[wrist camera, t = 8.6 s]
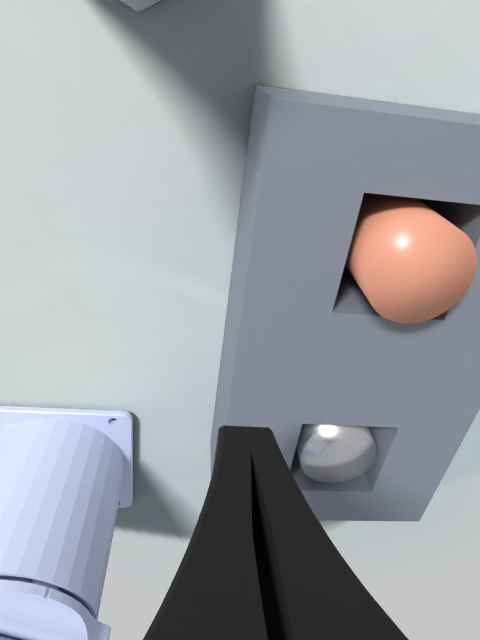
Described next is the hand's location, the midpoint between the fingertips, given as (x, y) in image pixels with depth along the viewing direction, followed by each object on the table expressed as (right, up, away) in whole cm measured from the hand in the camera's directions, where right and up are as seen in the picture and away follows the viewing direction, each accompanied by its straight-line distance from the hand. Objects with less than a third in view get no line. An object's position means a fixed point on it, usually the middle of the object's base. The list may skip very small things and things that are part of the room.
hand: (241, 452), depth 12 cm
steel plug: (+4, 0, +13) cm, 13 cm away
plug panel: (+5, +4, +10) cm, 12 cm away
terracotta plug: (+6, +7, +6) cm, 11 cm away
